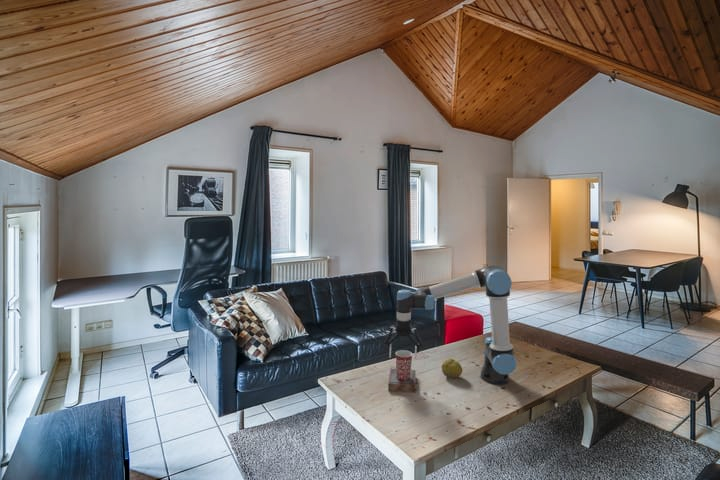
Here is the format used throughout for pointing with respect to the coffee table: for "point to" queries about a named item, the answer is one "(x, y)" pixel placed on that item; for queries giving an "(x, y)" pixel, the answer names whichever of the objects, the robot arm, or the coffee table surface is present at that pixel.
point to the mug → (403, 364)
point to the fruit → (451, 368)
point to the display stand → (402, 382)
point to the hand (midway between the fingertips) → (402, 357)
